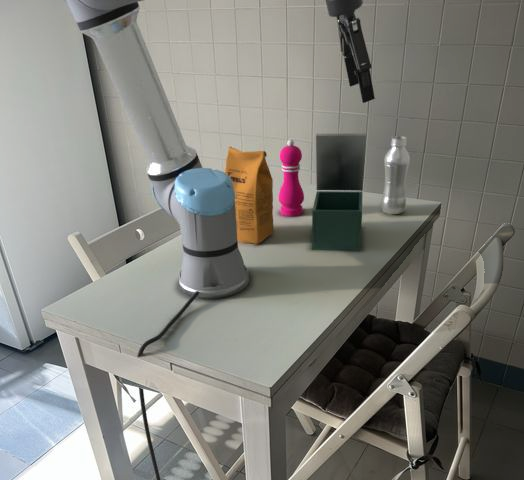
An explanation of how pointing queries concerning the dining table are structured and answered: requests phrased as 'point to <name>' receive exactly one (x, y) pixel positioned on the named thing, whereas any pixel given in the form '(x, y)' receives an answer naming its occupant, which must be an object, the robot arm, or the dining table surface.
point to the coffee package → (251, 194)
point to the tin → (337, 220)
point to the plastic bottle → (395, 176)
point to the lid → (340, 161)
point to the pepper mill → (291, 181)
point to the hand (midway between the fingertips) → (361, 92)
